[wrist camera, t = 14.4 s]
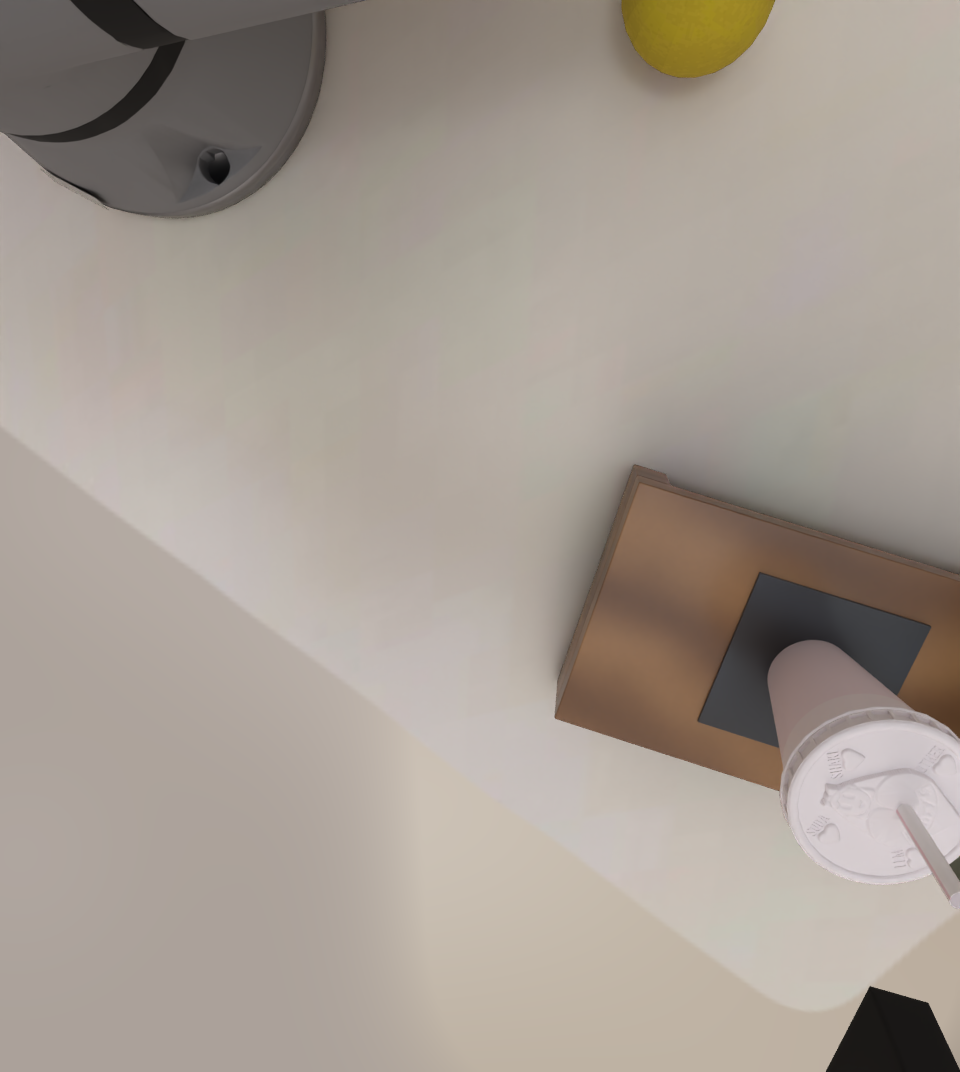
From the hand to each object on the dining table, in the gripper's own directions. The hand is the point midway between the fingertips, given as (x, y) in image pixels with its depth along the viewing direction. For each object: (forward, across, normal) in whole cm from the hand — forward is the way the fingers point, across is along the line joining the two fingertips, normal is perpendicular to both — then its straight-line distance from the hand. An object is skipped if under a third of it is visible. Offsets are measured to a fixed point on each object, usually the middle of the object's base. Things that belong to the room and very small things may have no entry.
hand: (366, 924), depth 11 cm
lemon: (+31, +2, +19) cm, 36 cm away
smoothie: (+26, +15, -5) cm, 30 cm away
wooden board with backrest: (+30, +14, -5) cm, 33 cm away
